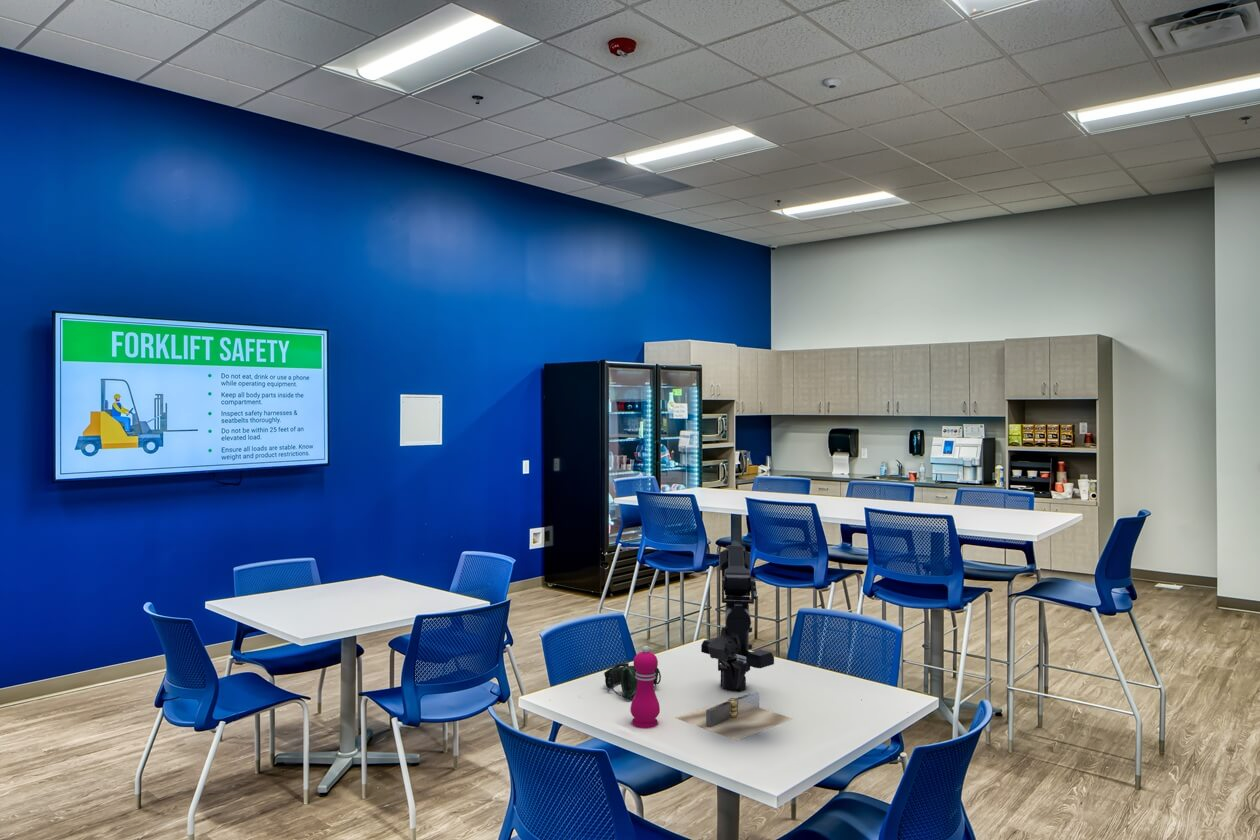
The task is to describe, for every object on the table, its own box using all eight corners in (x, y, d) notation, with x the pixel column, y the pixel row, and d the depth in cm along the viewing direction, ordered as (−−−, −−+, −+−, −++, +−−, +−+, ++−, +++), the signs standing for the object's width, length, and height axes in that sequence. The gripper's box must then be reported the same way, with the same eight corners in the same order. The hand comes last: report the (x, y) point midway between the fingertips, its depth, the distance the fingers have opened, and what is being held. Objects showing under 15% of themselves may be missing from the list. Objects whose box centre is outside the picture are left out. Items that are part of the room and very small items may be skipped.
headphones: (678, 678, 223) (652, 669, 241) (644, 645, 221) (620, 639, 240) (648, 718, 218) (623, 706, 237) (612, 685, 216) (590, 675, 235)
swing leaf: (731, 713, 208) (731, 698, 208) (738, 715, 207) (738, 700, 207) (704, 724, 200) (704, 709, 200) (711, 726, 198) (711, 711, 198)
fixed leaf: (732, 718, 205) (733, 700, 205) (725, 716, 207) (725, 698, 207) (761, 708, 213) (761, 691, 213) (753, 706, 214) (754, 689, 214)
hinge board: (674, 721, 205) (674, 717, 205) (731, 702, 220) (731, 698, 220) (736, 744, 191) (736, 740, 191) (793, 722, 206) (793, 718, 206)
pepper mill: (642, 720, 206) (643, 640, 206) (665, 727, 202) (666, 645, 202) (624, 728, 201) (625, 646, 201) (647, 735, 196) (648, 651, 196)
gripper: (686, 621, 200) (685, 685, 200) (745, 637, 187) (745, 705, 187) (716, 614, 208) (715, 676, 208) (775, 628, 194) (775, 694, 194)
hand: (736, 687), depth 199 cm, fingers closed
